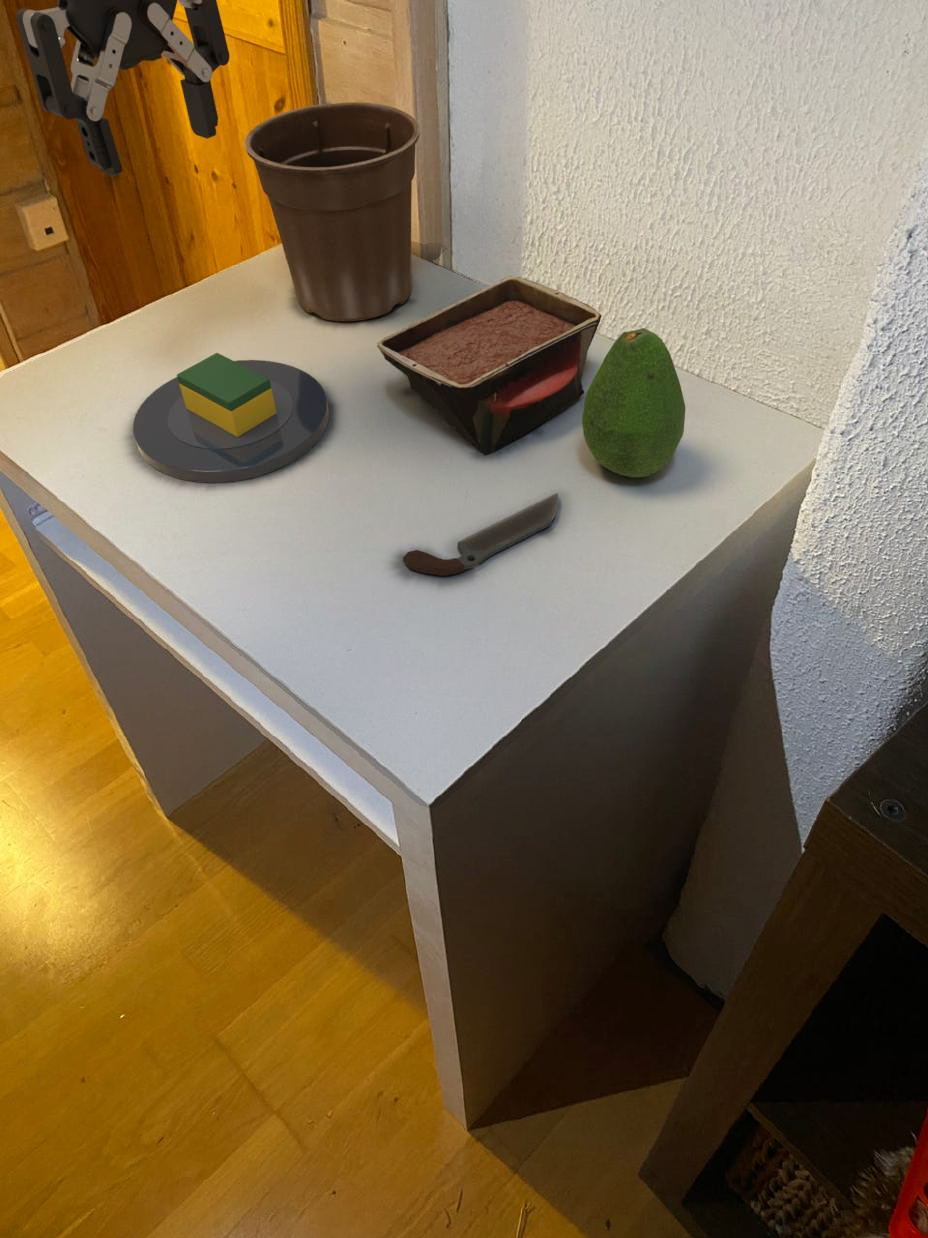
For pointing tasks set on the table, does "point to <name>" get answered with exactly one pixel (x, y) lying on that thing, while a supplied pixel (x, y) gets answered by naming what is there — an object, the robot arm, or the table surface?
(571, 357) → the baking dish
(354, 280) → the plant pot
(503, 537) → the knife
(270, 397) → the sponge
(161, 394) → the plate
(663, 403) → the avocado
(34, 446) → the table surface
